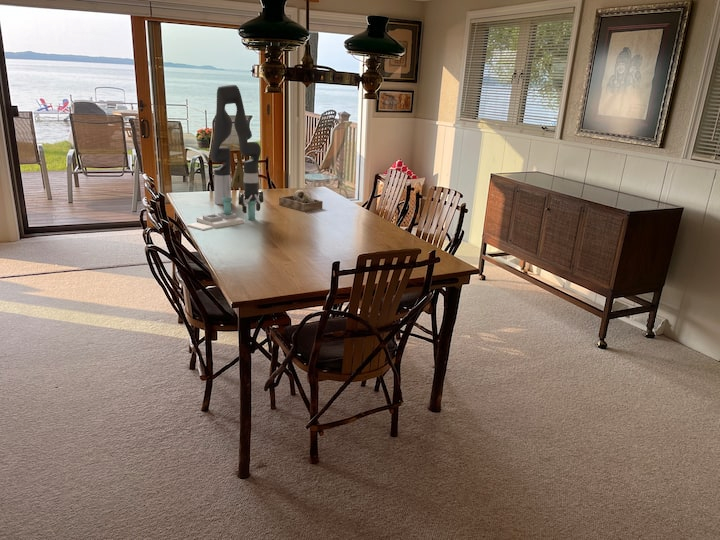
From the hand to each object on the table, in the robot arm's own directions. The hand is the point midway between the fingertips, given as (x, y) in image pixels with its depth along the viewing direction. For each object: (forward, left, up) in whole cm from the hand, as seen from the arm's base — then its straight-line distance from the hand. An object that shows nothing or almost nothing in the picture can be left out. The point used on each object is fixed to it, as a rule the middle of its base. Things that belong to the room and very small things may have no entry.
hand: (251, 211), depth 280 cm
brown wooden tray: (-8, +42, -4) cm, 43 cm away
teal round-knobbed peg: (0, 0, -4) cm, 4 cm away
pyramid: (-81, +50, -5) cm, 95 cm away
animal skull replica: (-6, +43, -5) cm, 44 cm away
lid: (-2, -30, -4) cm, 30 cm away
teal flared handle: (-5, -12, -2) cm, 13 cm away
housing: (-5, -16, -4) cm, 17 cm away
